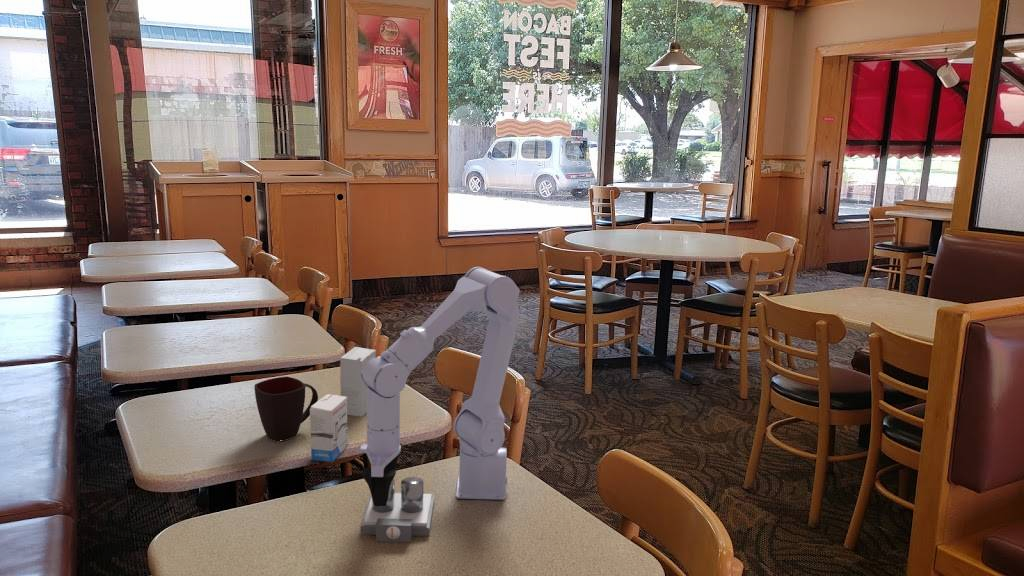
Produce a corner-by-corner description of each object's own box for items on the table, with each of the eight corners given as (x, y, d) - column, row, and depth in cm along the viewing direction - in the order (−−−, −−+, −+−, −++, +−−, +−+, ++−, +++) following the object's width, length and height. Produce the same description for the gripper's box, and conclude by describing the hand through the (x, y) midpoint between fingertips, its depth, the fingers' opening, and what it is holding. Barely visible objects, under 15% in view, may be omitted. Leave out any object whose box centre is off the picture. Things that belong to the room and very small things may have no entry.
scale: (434, 503, 140) (434, 487, 139) (428, 543, 127) (428, 527, 126) (370, 501, 139) (370, 486, 139) (358, 541, 127) (358, 525, 126)
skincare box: (354, 401, 185) (354, 345, 181) (377, 405, 184) (376, 348, 180) (339, 414, 177) (338, 356, 173) (362, 418, 176) (362, 359, 172)
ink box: (331, 463, 153) (330, 410, 151) (309, 460, 154) (308, 408, 152) (348, 445, 162) (348, 395, 159) (327, 442, 163) (326, 392, 160)
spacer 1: (375, 500, 136) (375, 475, 134) (396, 501, 136) (396, 477, 134) (369, 511, 132) (369, 486, 131) (391, 513, 132) (391, 488, 130)
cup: (250, 434, 165) (247, 384, 162) (305, 417, 175) (304, 370, 172) (271, 449, 158) (269, 397, 155) (328, 431, 168) (327, 382, 165)
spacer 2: (401, 502, 135) (401, 477, 134) (423, 501, 136) (423, 476, 135) (401, 513, 132) (401, 487, 131) (423, 512, 132) (423, 486, 131)
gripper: (367, 407, 137) (368, 473, 140) (352, 442, 123) (353, 515, 126) (405, 408, 137) (405, 474, 140) (395, 443, 123) (395, 516, 126)
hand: (383, 493), depth 133 cm, fingers open, 7 cm apart
